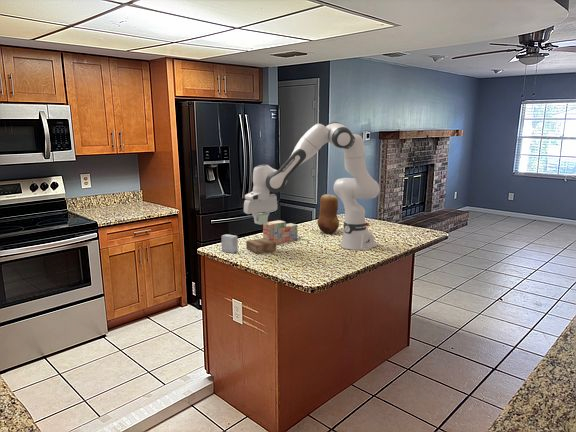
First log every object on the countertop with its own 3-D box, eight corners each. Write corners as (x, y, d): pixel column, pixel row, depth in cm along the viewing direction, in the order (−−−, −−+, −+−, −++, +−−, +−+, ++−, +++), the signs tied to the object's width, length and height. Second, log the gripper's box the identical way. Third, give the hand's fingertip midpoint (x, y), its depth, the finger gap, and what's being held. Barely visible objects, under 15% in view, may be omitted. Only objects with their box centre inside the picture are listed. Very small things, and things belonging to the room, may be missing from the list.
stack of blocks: (291, 237, 259) (291, 218, 256) (297, 239, 254) (298, 219, 252) (262, 243, 245) (262, 222, 243) (269, 245, 241) (269, 224, 238)
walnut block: (265, 246, 239) (265, 238, 238) (275, 251, 229) (275, 242, 228) (246, 249, 233) (246, 240, 232) (256, 254, 223) (256, 245, 222)
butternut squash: (339, 231, 277) (341, 193, 272) (337, 236, 264) (338, 196, 259) (319, 229, 280) (320, 192, 275) (315, 234, 267) (316, 195, 262)
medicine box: (238, 251, 227) (238, 235, 226) (233, 253, 224) (232, 237, 222) (226, 249, 231) (226, 233, 230) (221, 251, 228) (221, 235, 226)
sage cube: (262, 222, 231) (262, 213, 230) (267, 223, 227) (267, 214, 226) (254, 223, 228) (254, 214, 227) (259, 224, 224) (259, 215, 223)
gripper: (273, 192, 233) (272, 217, 236) (242, 195, 221) (242, 221, 223) (280, 194, 229) (279, 219, 231) (248, 197, 216) (248, 223, 218)
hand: (261, 220), depth 227 cm, fingers closed on sage cube, 5 cm apart
